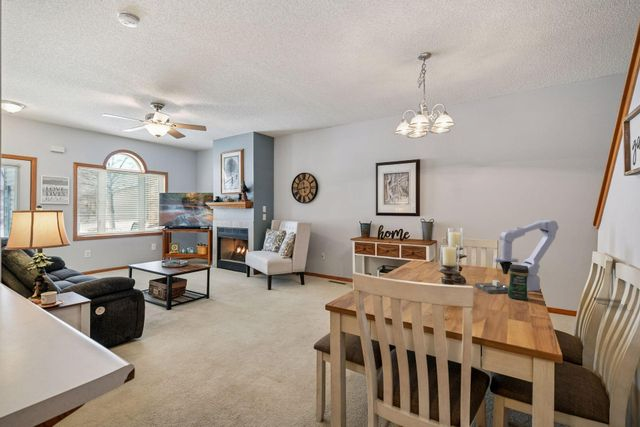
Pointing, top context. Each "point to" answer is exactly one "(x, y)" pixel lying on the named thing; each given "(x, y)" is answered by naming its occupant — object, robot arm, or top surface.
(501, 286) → the console
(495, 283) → the fader cap
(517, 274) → the coffee jar
